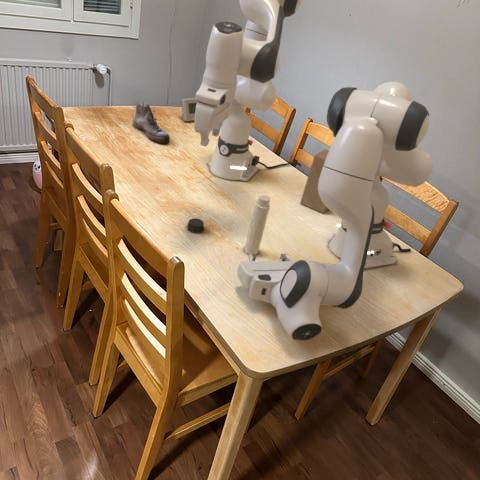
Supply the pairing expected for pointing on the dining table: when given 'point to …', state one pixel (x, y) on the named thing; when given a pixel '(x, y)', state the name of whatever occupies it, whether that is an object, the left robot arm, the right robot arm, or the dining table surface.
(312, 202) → the wooden block
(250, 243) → the beige cylindrical bottle
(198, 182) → the dining table surface
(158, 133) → the shoe
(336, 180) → the right robot arm
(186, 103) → the digital clock
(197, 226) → the lid
